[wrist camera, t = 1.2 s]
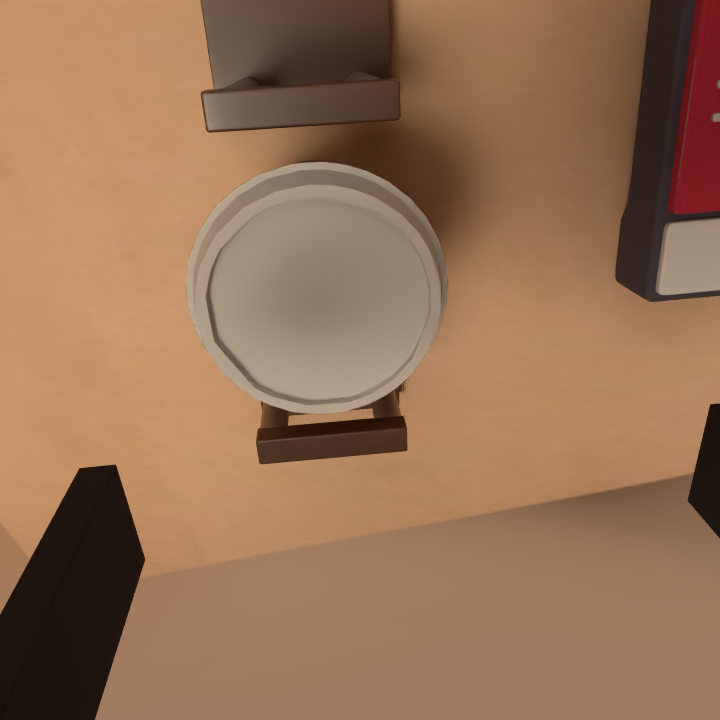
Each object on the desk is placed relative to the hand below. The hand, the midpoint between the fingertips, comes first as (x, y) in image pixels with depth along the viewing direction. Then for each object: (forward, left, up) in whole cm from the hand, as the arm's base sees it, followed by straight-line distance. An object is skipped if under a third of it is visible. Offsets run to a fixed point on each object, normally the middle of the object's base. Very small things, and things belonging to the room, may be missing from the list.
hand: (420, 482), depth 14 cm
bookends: (-1, -2, -21) cm, 21 cm away
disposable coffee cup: (-1, -2, -21) cm, 21 cm away
